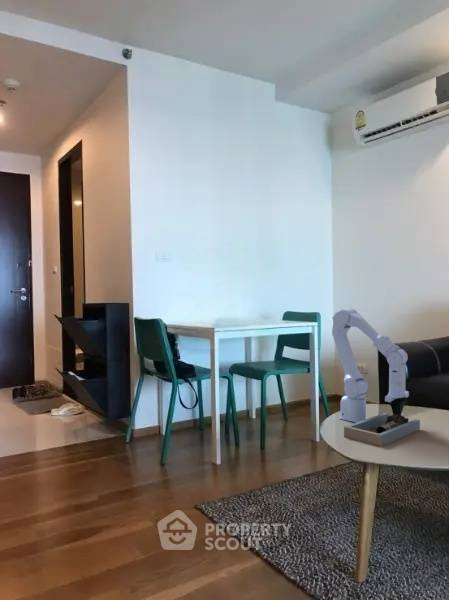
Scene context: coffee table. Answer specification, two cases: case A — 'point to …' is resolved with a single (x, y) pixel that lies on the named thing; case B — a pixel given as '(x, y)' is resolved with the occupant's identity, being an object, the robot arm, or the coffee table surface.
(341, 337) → the robot arm
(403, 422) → the jagged brown rock
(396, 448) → the coffee table surface
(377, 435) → the grey rectangular tray
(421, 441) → the coffee table surface
